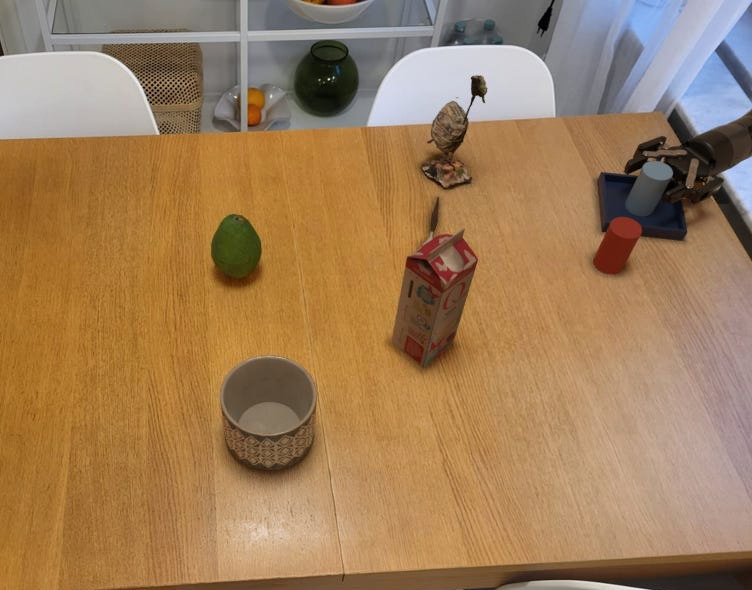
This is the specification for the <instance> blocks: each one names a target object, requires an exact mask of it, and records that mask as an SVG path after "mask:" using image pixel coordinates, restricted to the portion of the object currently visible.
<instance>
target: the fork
mask: <svg viewBox="0 0 752 590" xmlns="http://www.w3.org/2000/svg"><path fill="white" fill-rule="evenodd" d="M439 203H440V196H438V197H437V198H436V202H435V206H434V208H433V211H432V214H431V218H430V234H429V237H428V238H427V239H426V240H425V241H424V242H423V244H422V245H421V246H420V247H422V246H423V245H425V244H426V243H427V242H429V241H430V240H432V239H433V238H434V237H433V235H434V232H435V230H436V227H437V224H438V221H439Z"/></svg>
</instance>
